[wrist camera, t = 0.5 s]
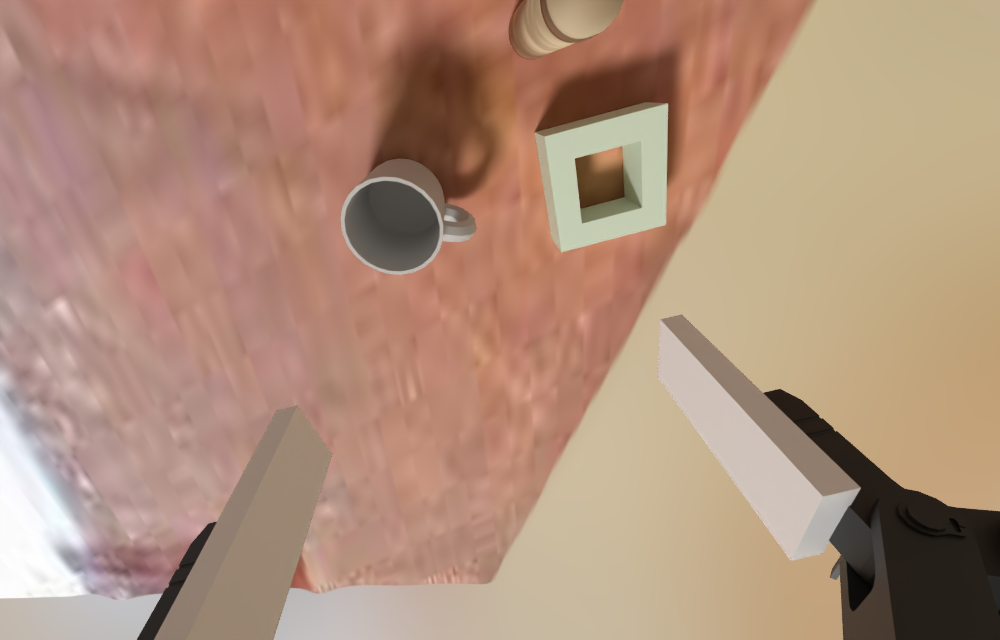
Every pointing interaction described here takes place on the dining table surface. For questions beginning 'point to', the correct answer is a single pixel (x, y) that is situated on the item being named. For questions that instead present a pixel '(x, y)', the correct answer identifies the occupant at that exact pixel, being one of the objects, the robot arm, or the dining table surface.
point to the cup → (401, 218)
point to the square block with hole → (642, 168)
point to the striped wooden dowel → (558, 24)
